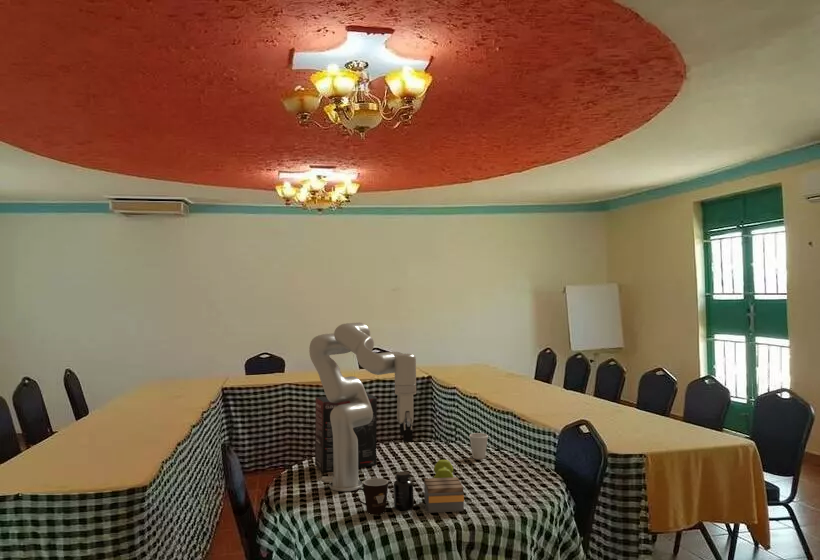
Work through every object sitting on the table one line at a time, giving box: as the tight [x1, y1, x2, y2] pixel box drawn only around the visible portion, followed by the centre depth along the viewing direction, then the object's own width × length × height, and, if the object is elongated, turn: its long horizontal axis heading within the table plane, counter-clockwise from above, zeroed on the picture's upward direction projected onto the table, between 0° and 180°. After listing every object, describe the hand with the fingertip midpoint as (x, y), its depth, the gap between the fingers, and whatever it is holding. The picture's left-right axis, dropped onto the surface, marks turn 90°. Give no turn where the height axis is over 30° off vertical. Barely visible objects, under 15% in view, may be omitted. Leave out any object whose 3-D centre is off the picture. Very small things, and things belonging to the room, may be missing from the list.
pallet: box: [423, 476, 464, 493], centre depth 222 cm, size 12×12×2 cm
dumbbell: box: [433, 459, 454, 478], centre depth 249 cm, size 16×8×7 cm, turn 177°
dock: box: [423, 483, 465, 514], centre depth 222 cm, size 12×13×6 cm
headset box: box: [314, 393, 378, 473], centre depth 274 cm, size 24×13×33 cm, turn 115°
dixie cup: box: [469, 432, 489, 460], centre depth 284 cm, size 8×8×10 cm
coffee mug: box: [353, 477, 389, 515], centre depth 218 cm, size 12×9×10 cm
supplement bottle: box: [393, 470, 415, 512], centre depth 221 cm, size 7×7×12 cm
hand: (406, 438), depth 222 cm, fingers open, 9 cm apart
